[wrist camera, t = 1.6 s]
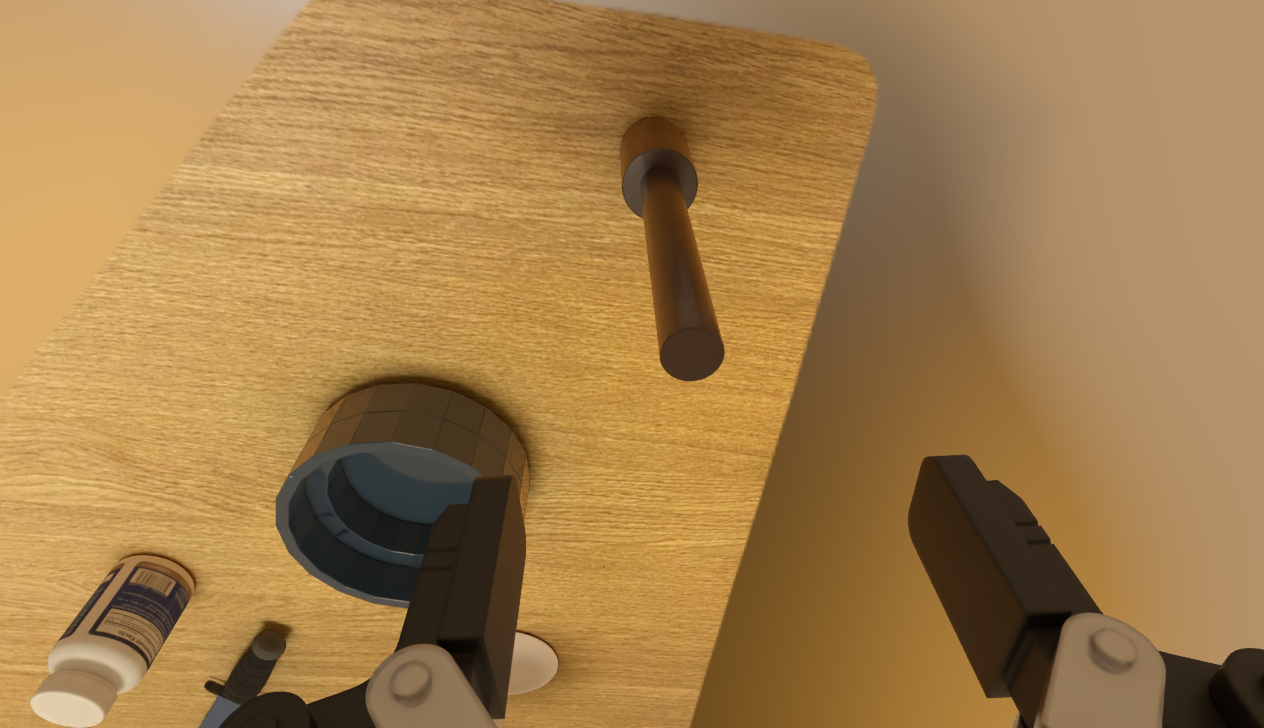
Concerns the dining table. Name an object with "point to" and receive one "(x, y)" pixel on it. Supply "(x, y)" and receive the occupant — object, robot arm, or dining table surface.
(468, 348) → the dining table surface
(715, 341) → the muddler
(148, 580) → the pill bottle
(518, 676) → the wineglass
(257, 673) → the knife
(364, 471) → the bowl
